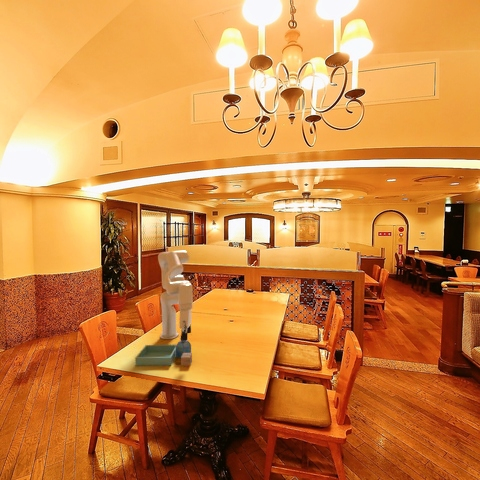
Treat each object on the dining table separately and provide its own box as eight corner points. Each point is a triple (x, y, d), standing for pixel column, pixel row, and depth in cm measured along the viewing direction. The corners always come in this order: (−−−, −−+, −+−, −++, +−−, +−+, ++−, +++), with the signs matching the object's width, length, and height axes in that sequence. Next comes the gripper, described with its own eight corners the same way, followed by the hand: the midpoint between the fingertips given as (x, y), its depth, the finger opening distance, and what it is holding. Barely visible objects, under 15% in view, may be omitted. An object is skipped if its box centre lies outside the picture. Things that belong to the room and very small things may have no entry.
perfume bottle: (176, 356, 149) (175, 336, 148) (183, 352, 154) (183, 333, 154) (183, 359, 145) (183, 338, 145) (191, 355, 151) (190, 335, 150)
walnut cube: (183, 361, 143) (183, 352, 143) (192, 361, 143) (191, 352, 143) (181, 366, 138) (181, 357, 138) (190, 366, 138) (190, 357, 138)
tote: (145, 352, 154) (145, 345, 154) (177, 351, 154) (177, 344, 154) (135, 365, 139) (135, 357, 139) (171, 365, 139) (170, 357, 139)
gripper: (182, 301, 148) (183, 330, 149) (174, 310, 131) (175, 343, 131) (195, 301, 148) (195, 330, 149) (189, 310, 131) (190, 343, 131)
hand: (186, 336), depth 140 cm, fingers open, 9 cm apart
